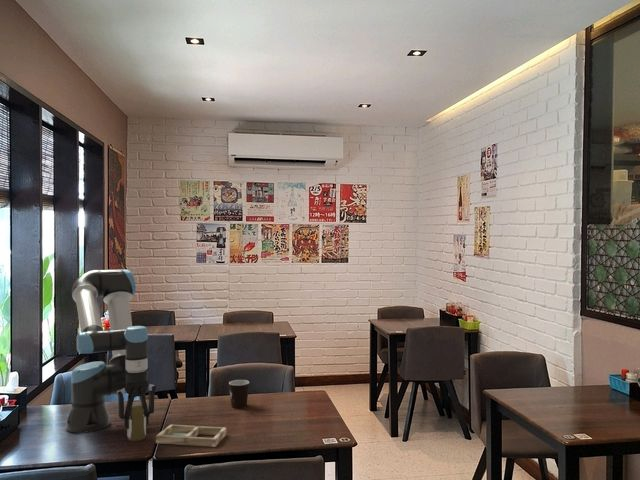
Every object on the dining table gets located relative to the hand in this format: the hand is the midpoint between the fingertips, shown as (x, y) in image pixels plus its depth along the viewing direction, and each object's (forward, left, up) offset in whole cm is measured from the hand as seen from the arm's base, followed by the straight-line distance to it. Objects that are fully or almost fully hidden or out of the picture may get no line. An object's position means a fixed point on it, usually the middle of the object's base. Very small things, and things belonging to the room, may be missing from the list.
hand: (136, 435), depth 185 cm
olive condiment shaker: (0, 0, -1) cm, 1 cm away
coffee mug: (+25, +41, -1) cm, 48 cm away
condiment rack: (+20, +2, -1) cm, 20 cm away
